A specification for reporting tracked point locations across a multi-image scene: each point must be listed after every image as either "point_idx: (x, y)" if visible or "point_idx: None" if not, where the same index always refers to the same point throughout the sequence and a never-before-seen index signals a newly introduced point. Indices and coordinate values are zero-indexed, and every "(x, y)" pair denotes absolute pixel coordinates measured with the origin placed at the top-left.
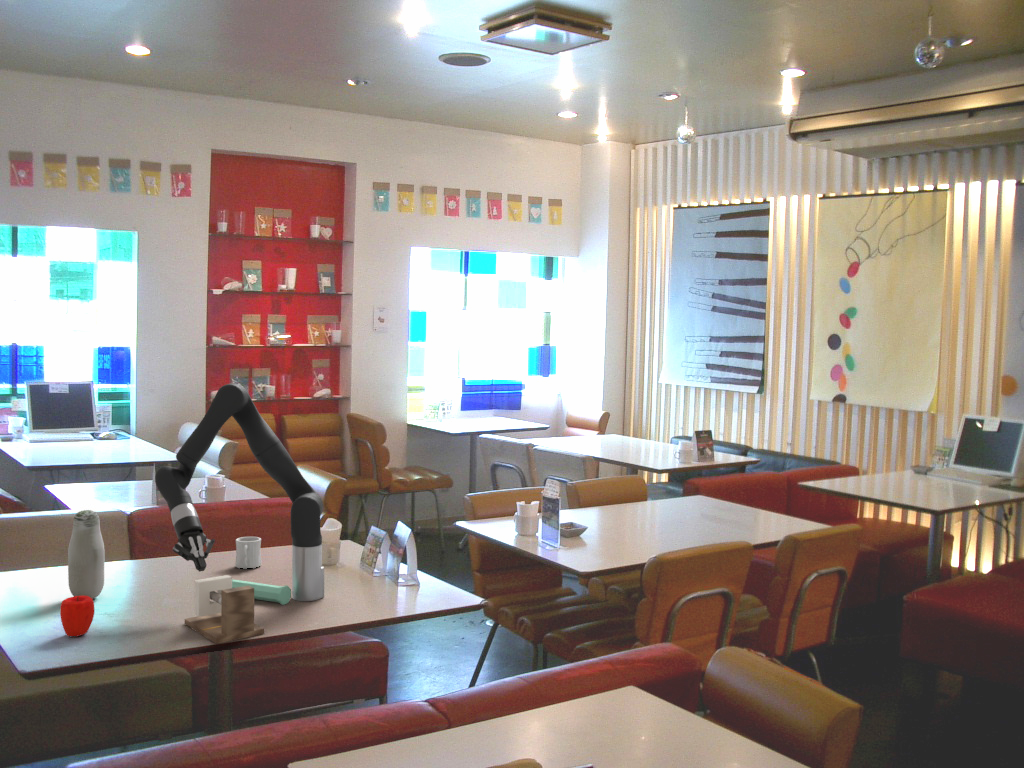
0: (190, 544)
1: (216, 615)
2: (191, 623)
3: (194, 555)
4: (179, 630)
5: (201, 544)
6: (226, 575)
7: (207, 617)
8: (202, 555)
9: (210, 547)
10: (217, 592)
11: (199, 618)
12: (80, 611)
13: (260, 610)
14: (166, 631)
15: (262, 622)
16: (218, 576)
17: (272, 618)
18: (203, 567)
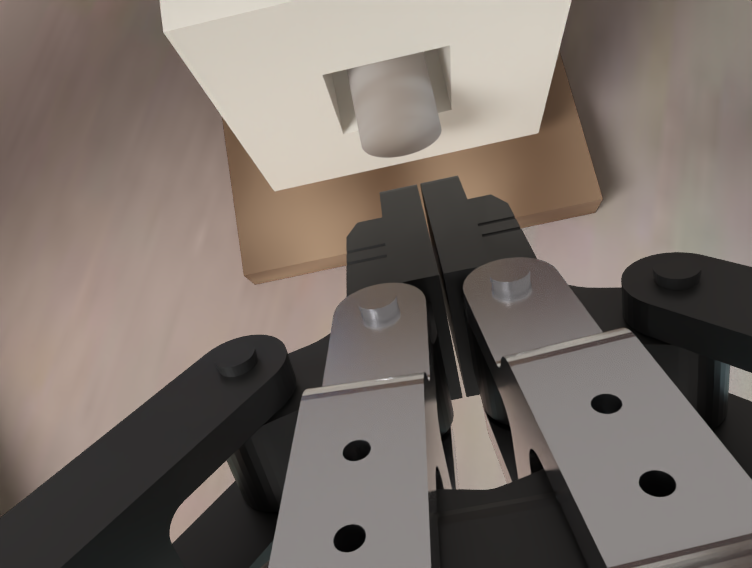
0: (737, 474)
1: (368, 190)
2: (567, 84)
3: (561, 281)
4: (645, 89)
5: (312, 483)
6: (183, 13)
7: (438, 167)
8: (375, 301)
9: (84, 478)
10: (331, 96)
11: (496, 165)
12: None
13: (41, 313)
14: (734, 100)
15: (128, 56)
16: (280, 4)
17: (47, 110)
18: (412, 186)
